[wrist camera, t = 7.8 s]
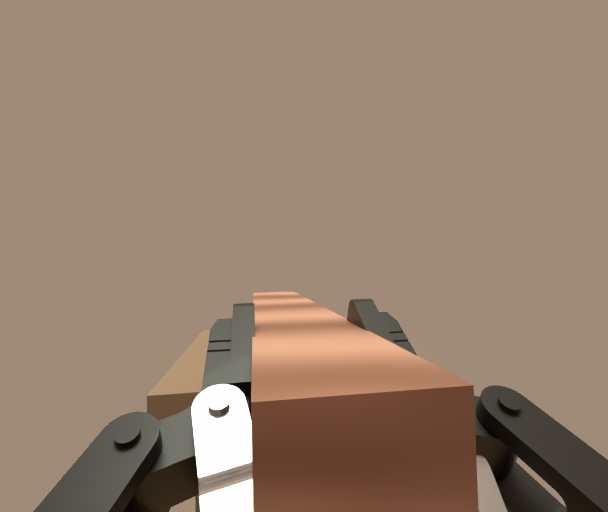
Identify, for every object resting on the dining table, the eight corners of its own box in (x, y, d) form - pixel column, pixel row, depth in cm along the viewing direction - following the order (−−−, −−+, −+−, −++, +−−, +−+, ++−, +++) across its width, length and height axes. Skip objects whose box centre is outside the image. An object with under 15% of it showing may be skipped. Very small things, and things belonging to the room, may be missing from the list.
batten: (481, 580, 6) (473, 385, 6) (254, 615, 5) (250, 402, 5) (294, 325, 31) (293, 291, 31) (254, 327, 31) (253, 292, 31)
